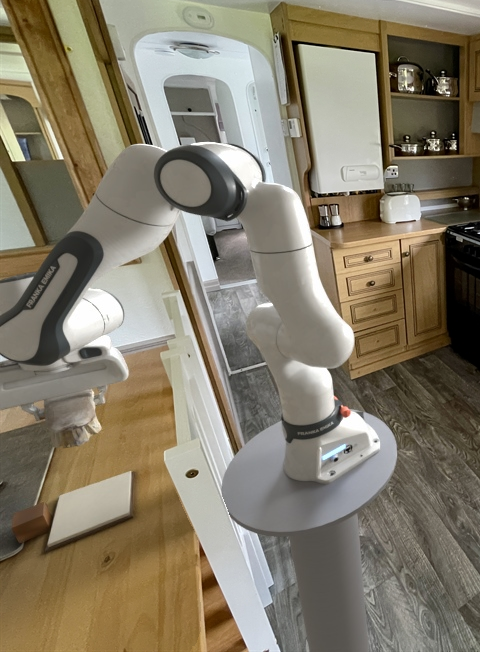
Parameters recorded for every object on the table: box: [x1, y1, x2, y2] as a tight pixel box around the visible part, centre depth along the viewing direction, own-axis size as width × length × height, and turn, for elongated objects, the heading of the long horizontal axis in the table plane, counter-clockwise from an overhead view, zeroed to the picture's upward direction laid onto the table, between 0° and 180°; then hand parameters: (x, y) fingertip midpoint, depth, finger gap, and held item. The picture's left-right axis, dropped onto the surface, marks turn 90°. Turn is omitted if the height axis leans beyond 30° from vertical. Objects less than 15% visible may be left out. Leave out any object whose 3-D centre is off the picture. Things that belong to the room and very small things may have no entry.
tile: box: [44, 470, 136, 553], centre depth 76 cm, size 12×14×1 cm
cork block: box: [10, 501, 53, 545], centre depth 71 cm, size 4×4×4 cm
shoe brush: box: [43, 389, 103, 449], centre depth 79 cm, size 24×8×5 cm, turn 48°
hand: (73, 410), depth 79 cm, fingers closed on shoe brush, 7 cm apart
